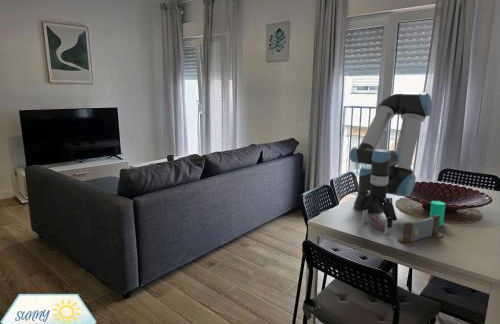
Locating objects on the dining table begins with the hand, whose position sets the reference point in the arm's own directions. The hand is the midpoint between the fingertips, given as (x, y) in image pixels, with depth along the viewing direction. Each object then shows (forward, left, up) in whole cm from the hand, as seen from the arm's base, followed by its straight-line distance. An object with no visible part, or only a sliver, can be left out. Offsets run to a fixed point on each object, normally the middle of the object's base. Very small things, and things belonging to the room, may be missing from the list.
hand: (375, 228), depth 155 cm
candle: (+9, +30, 0) cm, 31 cm away
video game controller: (0, +1, -1) cm, 1 cm away
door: (+17, +9, 0) cm, 20 cm away
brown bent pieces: (+17, +9, 0) cm, 19 cm away
